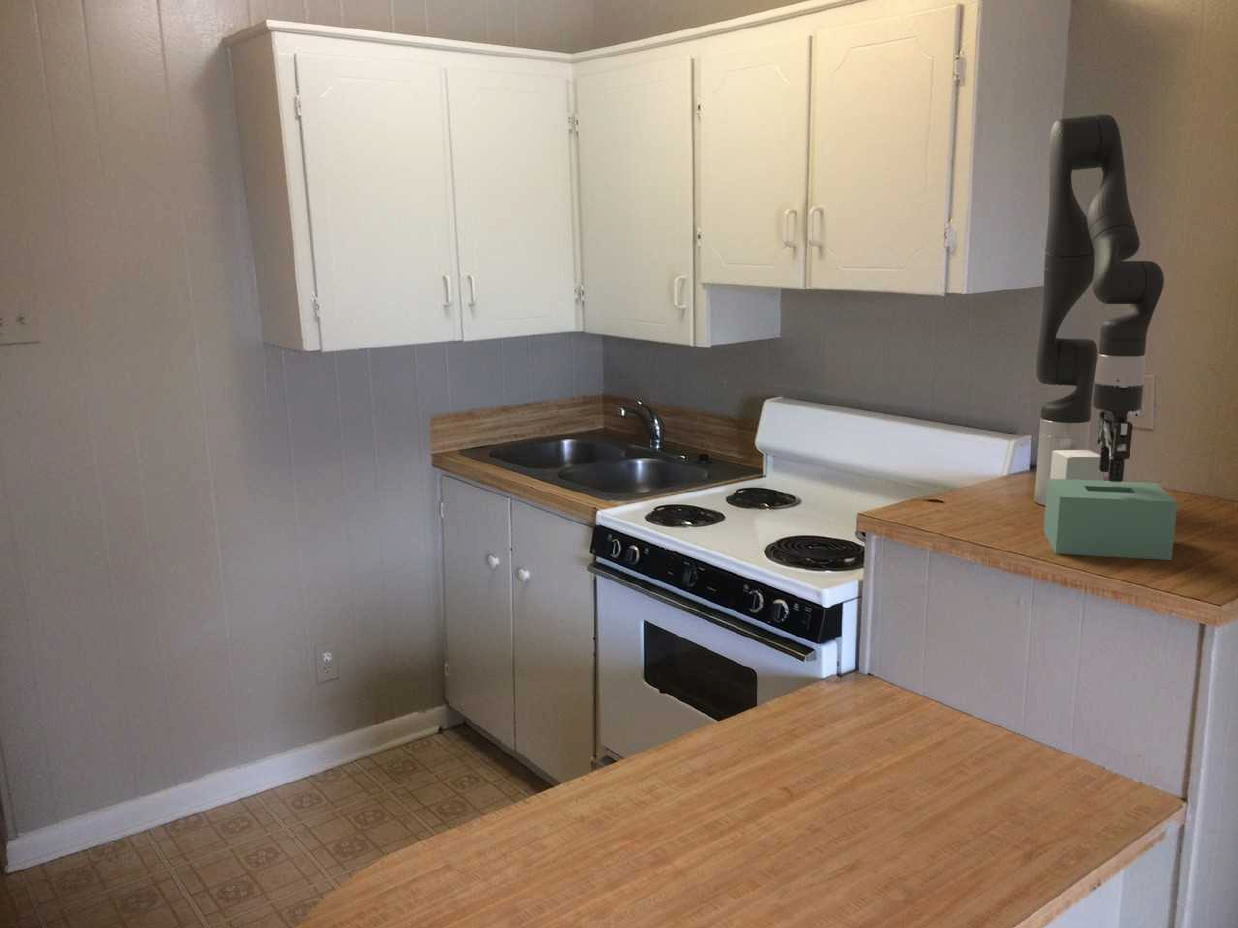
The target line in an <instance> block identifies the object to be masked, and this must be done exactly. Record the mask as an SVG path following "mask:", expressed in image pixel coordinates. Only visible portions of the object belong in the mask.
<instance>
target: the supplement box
mask: <svg viewBox="0 0 1238 928" xmlns="http://www.w3.org/2000/svg"><path fill="white" fill-rule="evenodd" d="M1099 463H1100V453H1099V454H1098V453H1096V452H1094V451H1092V450H1090V449H1088V450H1056V451H1052V462H1051V476H1050V479H1073V480H1098V481H1104V476H1105V475H1104V474H1105V472H1101V471H1100V470H1099Z"/></svg>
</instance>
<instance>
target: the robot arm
mask: <svg viewBox="0 0 1238 928" xmlns="http://www.w3.org/2000/svg"><path fill="white" fill-rule="evenodd" d="M1048 143H1049V144H1048V181H1049V182H1048V190H1049V191H1048V214H1047V215H1048V216H1047V230H1046V239H1045V249H1044V265H1043V266H1044V267H1043V294H1042V295H1043V297H1042V299H1043V300H1042V301H1043V302H1042V314H1041V321H1040V331H1039V335H1038V336H1039V338H1038V345H1037V355H1036V367H1035V368H1036V378H1037V380H1038V381H1039V383H1041V384H1042V385H1048V386H1049V385H1051V386H1072V387H1073V386H1075V390H1074V391H1073V392H1071V393H1069V394H1067V395H1066V396H1064V397H1062V398H1059V399H1055V400H1052V401H1048V402H1045V403H1043V404H1042V405H1041V409H1040V419H1039V431H1038V433H1039V436H1038V446H1037V447H1038V448H1037V460H1036V461H1037V463H1036V474H1035V475H1036V476H1035V487H1034V488H1035V489H1034V500H1033V501H1034V502H1035V503H1036V504H1039V505H1041V506H1046V493H1047V480H1048V479H1050V476H1051V462H1052V451H1056V450H1089V443H1090V430H1091V420H1092V419H1091V416H1092V407H1093V408H1094V409H1096V410H1099V421H1098V423H1099V424H1098V433H1097V434H1098V436H1097V437H1098V438H1097V441H1096V442H1097V445H1098V448H1099V450H1100V453H1099V455H1100V463H1099V470H1100V471H1101V472H1104V473H1108V474H1107V481H1111V482H1122V481H1123V480H1124V475H1125V474H1124V472H1125V463H1126V462H1125V461H1126V460H1127V459H1130V456H1131V447H1132V446H1131V443H1132V435H1133V428H1134V426H1133V422H1132V423H1131V421H1128V413H1130V412H1138V411H1140V410H1141V409H1142V407H1143V406H1142V405H1143V394H1144V386H1145V385H1144V384H1145V376H1146V375H1145V373H1146V361H1145V357H1146V356H1145V355H1146V346H1147V345H1146V344H1147V335H1148V330H1149V326H1150V324H1151V321H1152V319H1153V315H1154V312H1155V310H1156V307H1157V305H1158V302H1159V300H1160V298H1161V295H1162V292H1163V291H1164V290H1163V289H1164V285H1165V278H1164V277H1165V276H1164V273H1163V270H1162V268H1161V267H1160V265H1159V264H1158V263H1156V262H1154V261H1152V260H1151V261H1150V260H1128V259H1130V258H1132V257H1134V256H1135V254H1137V252H1138V251H1139V249H1140V243H1141V242H1140V236H1139V233H1138V229H1137V225H1136V224H1135V219H1134V217H1133V214H1132V211H1131V206H1130V203H1129V201H1130V200H1129V195H1128V185H1127V179H1126V167H1125V161H1124V160H1125V159H1124V153H1123V152H1124V151H1123V144H1122V143H1123V142H1122V137H1121V133H1120V128H1119V125H1118V123H1117V120H1116V119H1115V118H1114V116H1112V115H1110V114H1104V113H1103V114H1100V113H1099V114H1091V115H1083V116H1082V115H1081V116H1071V117H1065V118H1064V117H1063V118H1060V119H1057V120H1056V121H1055V122H1054V124H1053V125H1052V128H1051V131H1050V135H1049V141H1048ZM1097 168H1100V169H1101V171H1102V179H1101V180H1102V181H1101V182H1100V185H1099V188H1098V190H1096V194H1095V195H1094V197H1093V198H1092V201H1091V203H1090V205H1089V208H1088V211H1087V215H1086V214H1085V212H1084V211H1083V209H1082V207H1081V206H1080V204H1079V202H1078V200H1077V198H1076V195H1075V193H1074V188H1073V183H1072V172H1073V171H1079V170H1089V169H1097ZM1091 284H1092V292H1093V295H1094V297H1096V299H1098V301H1100V302H1101V303H1102V304H1104V305H1105V304H1106V305H1130V306H1129V309H1128V310H1127V312H1126V313H1125V314H1123V315H1122V316H1119V317H1113V318H1110V319H1107V320H1104V322H1102V324H1101V327H1100V334H1099V344H1098V347H1097V343H1096V341H1094V340H1093V339H1091V338H1058V337H1057V335H1058V332H1059V329H1060V327H1061V325H1062V323H1063V321H1064V319H1065V318H1066V317H1067V315H1068V313H1070V310H1071V309H1072V308H1073V307H1074V305H1075V304H1076V303H1077V302H1078V301H1079V300H1080V299H1081V297H1082V296H1083V295H1084V294H1085V293H1086V291H1087V290H1088V288H1089V287H1091ZM1119 448H1120V449H1121V450H1118V449H1119ZM1123 482H1124V481H1123Z"/></svg>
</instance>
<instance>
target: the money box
mask: <svg viewBox="0 0 1238 928" xmlns="http://www.w3.org/2000/svg"><path fill="white" fill-rule="evenodd" d="M1044 506H1045V505H1044ZM1177 511H1178V501H1177V500H1176V499H1175V498H1174V496H1172V495H1171V494H1170V493H1168V492H1167V490H1165V489H1164V488H1162V487H1161V485H1160V484H1158V483H1157V482H1147V481H1143V482H1141V481H1122V482H1111V481H1109V480H1103V481H1098V480H1073V479H1048V480H1047V493H1046V506H1045V509H1044V518H1043V519H1044V520H1043V521H1044V522H1043V533H1044V535H1045V537H1046V539H1047V540H1048V543H1049V542H1050V543H1049V545H1050V546H1051V548H1052V550H1053V551H1054V553H1055V554H1059V555H1060V554H1061V555H1072V556H1073V555H1075V556H1077V555H1079V556H1091V557H1092V556H1093V557H1109V558H1113V557H1114V558H1128V559H1129V558H1130V559H1143V560H1144V559H1145V560H1146V559H1147V560H1148V559H1149V560H1160V561H1161V560H1163V561H1164V560H1165V561H1169V560H1170V561H1172V559H1173V549H1174V548H1173V547H1174V541H1175V530H1176V522H1177V521H1176V519H1177Z"/></svg>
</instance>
